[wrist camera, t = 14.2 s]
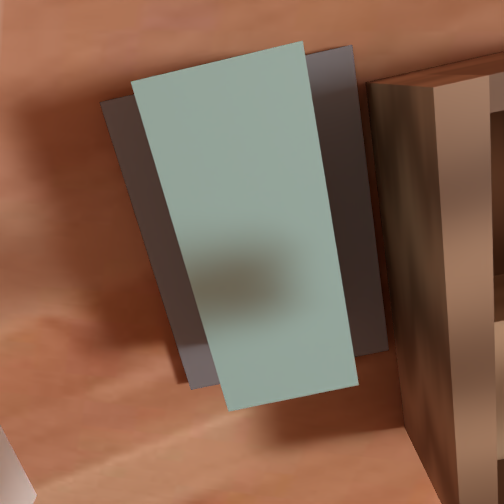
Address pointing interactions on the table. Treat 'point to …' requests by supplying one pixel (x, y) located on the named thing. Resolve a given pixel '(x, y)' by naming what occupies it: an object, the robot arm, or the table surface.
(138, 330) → the table surface
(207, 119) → the part
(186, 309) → the mat
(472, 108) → the frame
